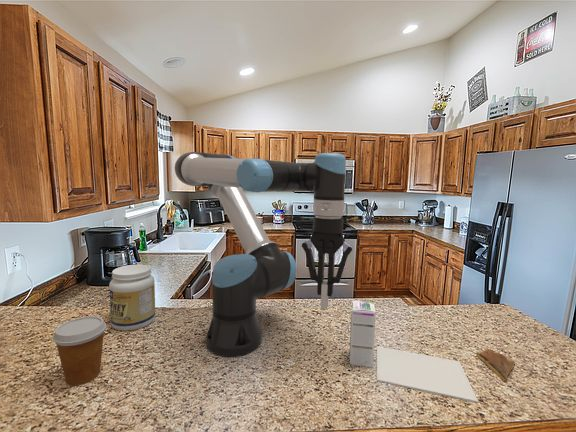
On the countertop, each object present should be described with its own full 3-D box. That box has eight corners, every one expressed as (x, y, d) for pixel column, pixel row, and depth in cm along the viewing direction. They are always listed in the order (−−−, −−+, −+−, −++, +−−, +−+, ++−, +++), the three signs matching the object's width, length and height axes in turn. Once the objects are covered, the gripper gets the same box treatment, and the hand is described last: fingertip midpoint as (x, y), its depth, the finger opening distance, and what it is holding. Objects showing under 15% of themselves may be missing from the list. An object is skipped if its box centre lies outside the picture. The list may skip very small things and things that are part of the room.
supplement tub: (101, 326, 85) (98, 271, 83) (136, 310, 96) (134, 261, 94) (130, 336, 81) (128, 278, 79) (164, 317, 92) (162, 266, 90)
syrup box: (373, 368, 69) (377, 311, 68) (348, 364, 70) (351, 308, 69) (371, 354, 75) (375, 301, 73) (348, 351, 76) (351, 299, 74)
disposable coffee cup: (67, 398, 58) (63, 342, 56) (48, 379, 63) (44, 328, 61) (116, 372, 66) (114, 322, 64) (96, 357, 71) (93, 311, 69)
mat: (376, 381, 65) (377, 379, 65) (376, 347, 78) (376, 346, 78) (477, 403, 59) (478, 401, 59) (459, 362, 72) (459, 361, 72)
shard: (504, 384, 66) (505, 377, 65) (467, 367, 71) (468, 361, 71) (516, 366, 73) (516, 359, 72) (481, 352, 78) (481, 345, 78)
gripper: (299, 216, 70) (296, 309, 72) (353, 220, 66) (348, 317, 69) (306, 213, 77) (303, 298, 79) (356, 216, 73) (351, 305, 76)
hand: (324, 307), depth 74 cm, fingers closed
